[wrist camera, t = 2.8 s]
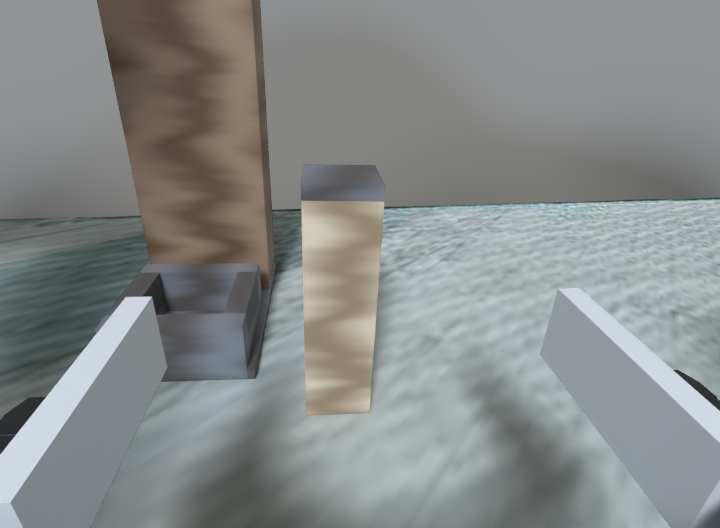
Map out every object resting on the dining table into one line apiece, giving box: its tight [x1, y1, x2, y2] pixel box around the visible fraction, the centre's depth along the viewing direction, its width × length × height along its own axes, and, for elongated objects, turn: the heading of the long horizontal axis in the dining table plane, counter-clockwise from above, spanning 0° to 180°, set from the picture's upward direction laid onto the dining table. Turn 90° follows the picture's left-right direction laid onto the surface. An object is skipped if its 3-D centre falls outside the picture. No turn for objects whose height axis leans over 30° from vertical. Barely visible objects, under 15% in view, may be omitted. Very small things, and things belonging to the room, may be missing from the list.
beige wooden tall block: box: [301, 164, 385, 415], centre depth 25 cm, size 4×4×15 cm
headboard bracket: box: [94, 0, 276, 381], centre depth 30 cm, size 10×17×28 cm, turn 5°
